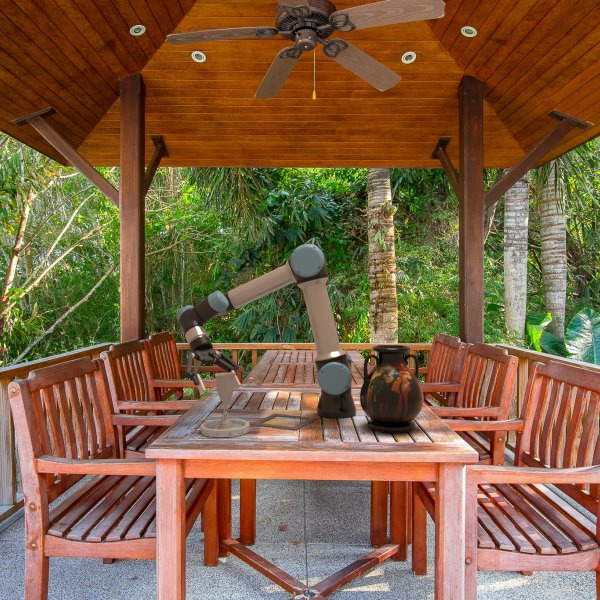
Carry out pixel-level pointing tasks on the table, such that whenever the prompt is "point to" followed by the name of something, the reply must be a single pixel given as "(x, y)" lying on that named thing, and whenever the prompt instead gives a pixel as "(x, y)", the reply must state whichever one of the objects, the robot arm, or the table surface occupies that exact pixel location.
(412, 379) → the amphora vase
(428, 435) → the table surface
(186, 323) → the robot arm
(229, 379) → the chalice
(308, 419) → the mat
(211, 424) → the plate
